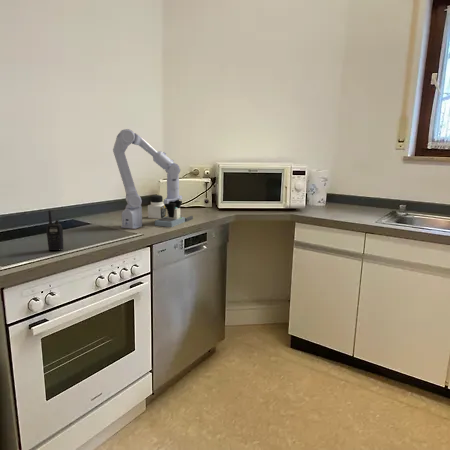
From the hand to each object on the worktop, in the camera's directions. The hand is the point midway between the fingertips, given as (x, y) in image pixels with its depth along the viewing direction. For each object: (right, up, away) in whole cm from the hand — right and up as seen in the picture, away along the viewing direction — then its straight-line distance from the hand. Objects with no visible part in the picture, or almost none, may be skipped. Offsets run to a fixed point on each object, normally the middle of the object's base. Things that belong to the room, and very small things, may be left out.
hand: (173, 216), depth 190 cm
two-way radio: (-37, -13, -45) cm, 60 cm away
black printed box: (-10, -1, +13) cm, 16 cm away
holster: (+4, -2, +7) cm, 9 cm away
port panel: (-1, -4, -2) cm, 5 cm away
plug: (0, -2, 0) cm, 2 cm away
